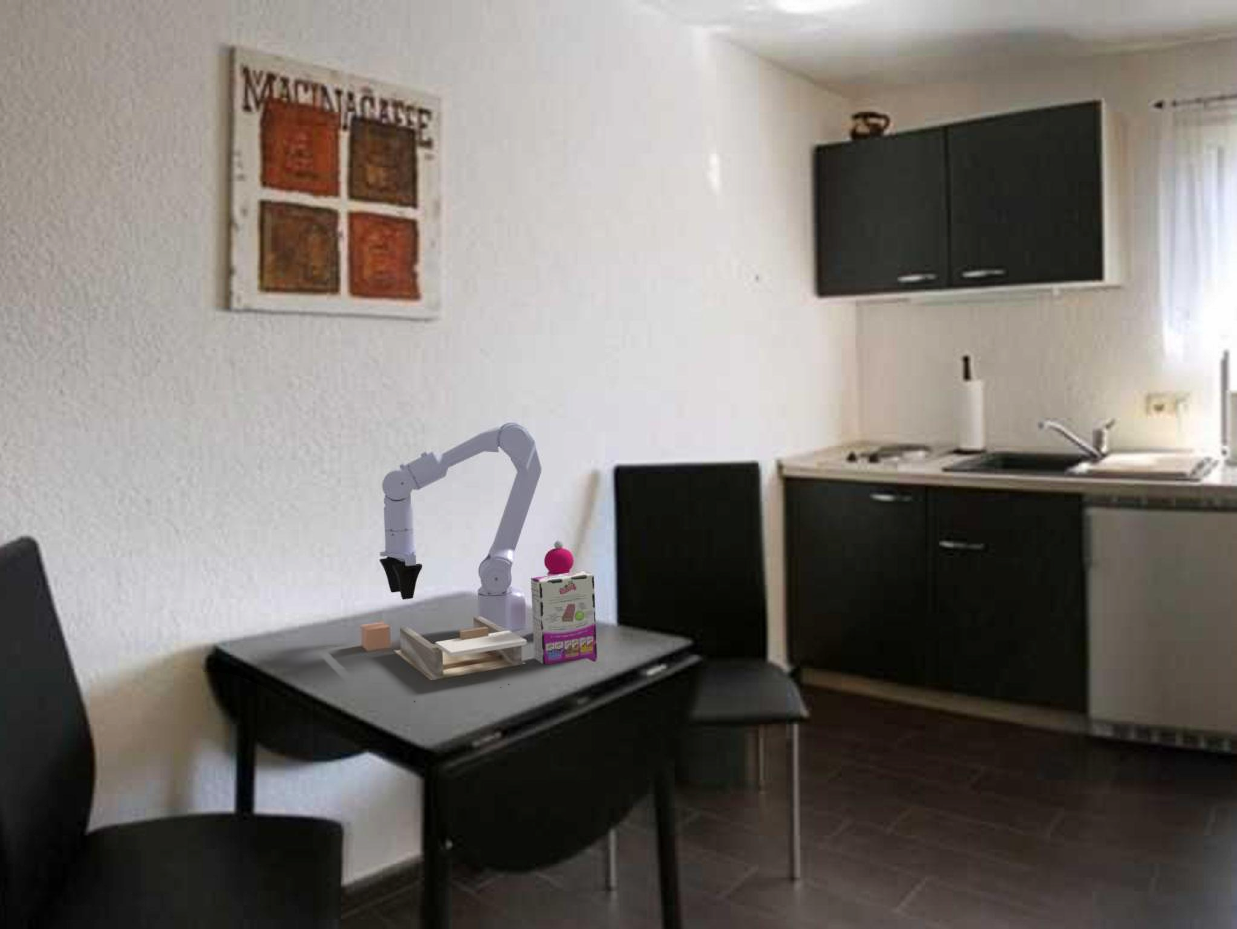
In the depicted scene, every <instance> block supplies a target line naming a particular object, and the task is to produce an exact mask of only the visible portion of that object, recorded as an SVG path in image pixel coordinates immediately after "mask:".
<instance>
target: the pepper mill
mask: <svg viewBox="0 0 1237 929" xmlns="http://www.w3.org/2000/svg"><path fill="white" fill-rule="evenodd" d="M553 546H554V548H552V549H550V550H548V551H547V552H546V554H545V556H544V558H543V559H544V560H543V561H544V562H543V563H544V567H545V568H546V569H547V570H548V572H547V573H546V576H550V575H557V574H564V573H572V571H571V569H572V568H573V566H574V563H575V562H574V561H575V560H574V556H573V554H572V552H571V551H570V550H569V549H567V548H563V546H564V544H563V542H562V541H560V540H556V541H555V542H554V544H553Z"/></svg>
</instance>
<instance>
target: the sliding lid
mask: <svg viewBox="0 0 1237 929" xmlns="http://www.w3.org/2000/svg"><path fill="white" fill-rule="evenodd" d="M435 644H436V647H437V648H439V649H440V650H442V651H443V652H445V653H446V654H448V655H449V656H450V657H455V656H461V655H467V654H473V653H479V652H485V651H492V650H498V649H504V648H510V647H516V646H522V647H523V646H526V645H528V641H527V639H525V638H524V637H522V636H520V635H518V634H516V633H514V632H513V631H503V632H496V633H490V634H489V633H488V628H487V627H481V628H474V627H473V628H469V629H468V628H467V629H462V630H461V629H460V630H459V638H454V639H446V640H440V641H435Z"/></svg>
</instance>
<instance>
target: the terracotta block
mask: <svg viewBox="0 0 1237 929" xmlns="http://www.w3.org/2000/svg"><path fill="white" fill-rule="evenodd" d="M360 634H361V635H360V636H361V641H360V642H361V647H362V648H364V649H365V650H366V651H367V652H371V651H377V650H383V649H390V648H392V646H391V645H392V644H391V626H390V625H388V624H387V623H386V622H385V621H382V622H381V621H380V622H373V623H366V624H361V625H360Z"/></svg>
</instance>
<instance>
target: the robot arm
mask: <svg viewBox="0 0 1237 929" xmlns="http://www.w3.org/2000/svg"><path fill="white" fill-rule="evenodd" d="M499 448H500V449H501V450H502V451H503V452H504V453H505V454H506V455H507V456H508V457H509V458H510V461H511V462H512V464H513V466H514V468H515V469H516V475H515V478H514V481H513V484H512V485H511V486H512V487H511V489H510V492H509V495H508V499H507V501H506V504H505V507H504V510H503V513H502V517H501V519H500V522H499V524H498V528H497V531H496V533H495V536H494V540H493V542H492V545H490V546H491V547H490V548H489V550H488V553H487V556H486V557H485V558H484V559H483V560H482V561H481V562H480V563H479V566H478V570H477V571H478V576H479V579H480V584H481V586H480V587H479V588H478V589H477V603H478V604H477V606H478V608H477V609H478V616H481V617H483V618H485V619H487V620H489V621H491V622H492V623H494V624H496V625H498V626H500V627H502V628H503V629H505V630H507V631H511V632H514V631H519V630H520V631H521V630H526V629H527V607H526V605H527V603H526V598H525V595H524V592H523V591H522V590H521V589H520V588H514V589H513V586H511V584H512V580H513V577H512V566H513V563H514V558H515V552H516V548H517V546H518V543H519V539H520V537H521V534H522V530H523V528H524V524H525V522H526V519H527V516H528V512H529V510H530V507H531V504H532V500H533V498H534V495H535V493H536V492H535V491H536V489H537V486H538V482H539V481H540V477H541V474H542V465H541V462H540V461H541V460H540V457H539V455H538V451H537V450H538V449H537V447H536V441H535V439H534V437H533V436H532V435H531V434H530V432H529V431H528V429H527V428H526V427H524V426H523V425H520V424H519V423H517V422H506V423H505V424H503V425H501V426H496V427H493V428H491V429H488V430H485V431H482V432H480V433H478V434H477V435H475V436H473V437H471V438H469V439H467V440H465V441H463V442H462V443H459V444H458V445H456V446H455V447H453V448H450V449H448V450H447V451H445V452H443V453H439V452H435V451H430V452H427V451H424V452H422V453H420V457H419V458H417V459H415V460H413V461H412V460H411V461H410V462H408V463H407V464H405V463H401V464H399V468H400V469H393V470H391V471H389V472H388V473H387V474H386V475H385V476H384V477H383V481H382V486H381V487H382V492H383V493H384V497H383V504H384V507H383V521H384V523H383V524H384V543H385V544H384V545H385V546H384V550H383V551H380V552H379V556H380V557H382V558H380V559H379V563H380V564H381V566H382V567H383V570H384V572H385V575H386V579H387V582H388V586H389V590H390V593H399V592H400V597H401V599H402V600H404V601H405V600H411V599H414V595H415V591H416V590H415V589H416V585H417V581H418V577H419V575H420V573H421V571H422V568H423V564H422V563H417V556H416V549H415V534H414V532H415V531H414V510H413V505H412V499H411V498H412V497H411V493H412V491H415V490H416V491H419V490H421V489H423V488H425V487H427V486H429V485H432V484H433V483H435V482H437V481H439V480H441V479H444V478H446V476H447V472H448V470H449V469H450V467H451V468H452V467H453V466H455V465H457V464H460V463H462V462H464V461H467V460H469V459H470V458H473V457H475V456H477V455H479V454H481V453H483V452H486V453H487V452H489V453H499V452H500V451H499Z"/></svg>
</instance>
